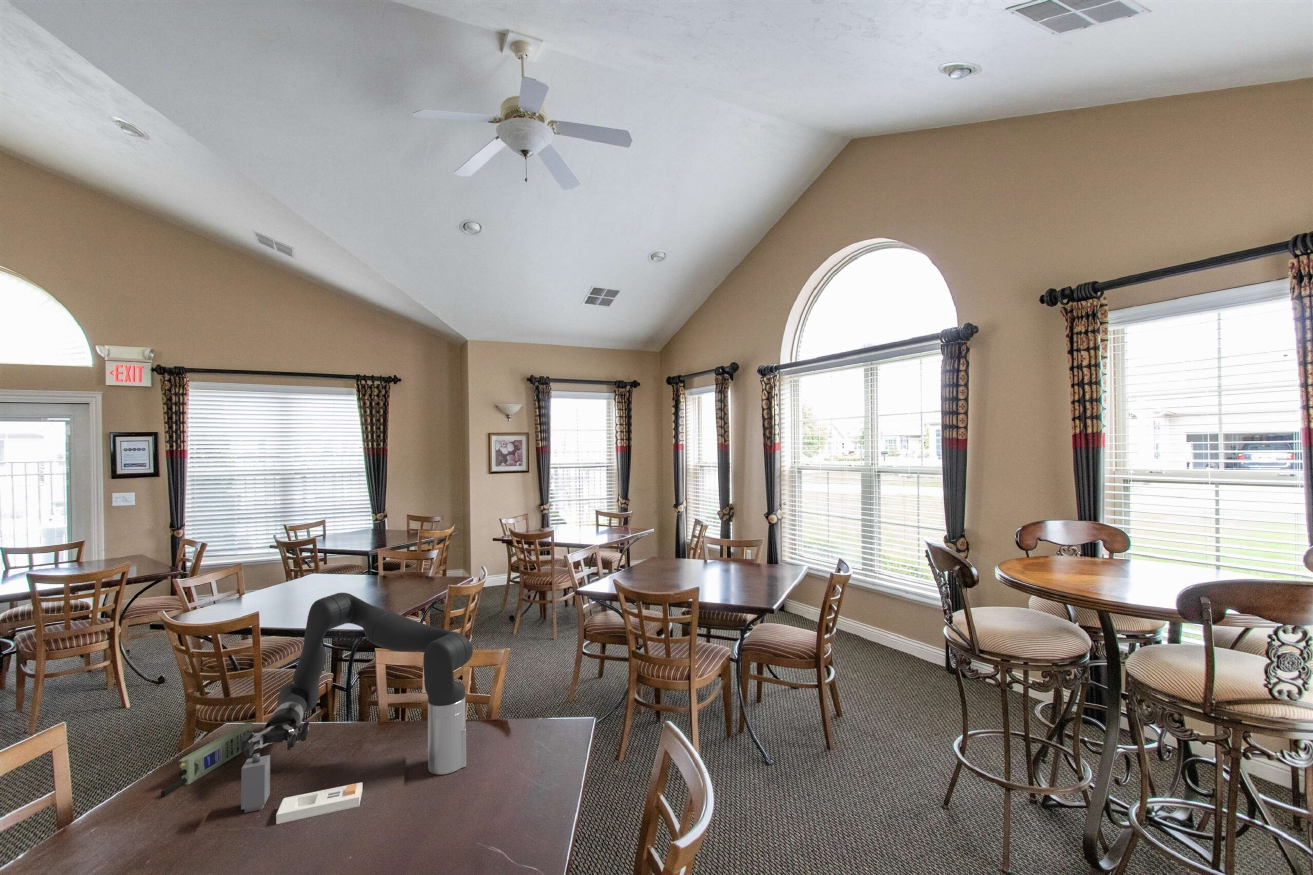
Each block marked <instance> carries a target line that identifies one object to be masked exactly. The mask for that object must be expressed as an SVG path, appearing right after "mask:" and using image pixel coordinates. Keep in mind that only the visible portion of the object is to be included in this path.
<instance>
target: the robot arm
mask: <svg viewBox="0 0 1313 875" xmlns="http://www.w3.org/2000/svg"><path fill="white" fill-rule="evenodd" d="M345 624H346V625H347V624H352V625H355V626H358V627H361V628H362V629H363V633H364V636H365V637H366V639H367V640H368V642H370V643H371V644H373V645H375V646H376V647H380V648H382V649H385V650H388V651H392V652H401V653H402V652H403V653H405V652H406V653H423V658H422V659H423V661H422V663H423V678H424V679H423V681H424V689H425V692H426V695H427V757H428V758H427V770H428V772H429V773H431V774H434V775H447V774H451V773H455V772H456V771H459V770H461V769H462V768H466V767H467V728H466V685H465V684H464V683H463V682H461V681H458V680H457V681H455V676H454V672H455V671H456V670H459V669H460V668H462V667H463V666H465V665H466V664H467V663H468V662H469V661H470V660H471V658H472V656H473V653H474V651H473V650H474V648H473V646H472V645H473V644H472V642H471V641H470V639H468V637H467V636H465V635H464V634H462V633H461V632H457V631H453V630H452V631H451V630H447V629H443V628H440V627H439V628H438V627H434V626H430V625H428V624H425V623H422V622H421V621H417V620H414V619H411V618H409V617H406V616H403V615H401V614H398V613H396V612H392V611H389V610H386V609H383V608H381V607H379V606H376V605H373V604H370V603H368V602H366V601H364V600H362V599H360V598H359V597H357V596H355V595H353V594H351V593H348V592H337V593H334V594H331V595H328V596H324V597H322V598H319V599H317V600H315V601H314V602H313V603H312V605H311V606H310V608H309V611H308V615H307V619H306V626H305V632H304V637H303V643H302V644H303V645H302V651H301V652H300V653H301V654H300V656H299V659H298V662H297V665H296V667H295V671H294V672H293V675H292V681H293V682H292V683H288V684H286V685H284V686H283V687H282V688H281V690H280V691H279V693H278V697H277V702H276V704H277V706H276V707H277V708H276V709H275V710H273V712H272V715H270V717H269V719H268V721H267V722H266V724H265V726H264V728H263V729H262V730H260V731H259V732H256V733H254V730H253V731H249V732H248V733H247V734H246V735H245V736H244V738H243V739H242V740H241V752H242V753H243V752H244V754H243V756H245V757H246V758H250V757H252V755H253V754H254V752H255V750H256V749H262V748H265V747H266V746H268V745H270V744H273V743H275V744H277V743H278V744H280V743H287V744H286V745H287V747H286V748H287V749H286V750H287V751H291V750H292V748H294V747H295V746H296V745H297V744H298V742H299V741H301V742H305V741H307V739H308V735H309V733H310V721H305V722H304V723H303V724H301V723H302V720H303V716H304V715H305V713H308V712H310V711H312V710H313V709H314V708H315V706H316V705H317V704H318V700H319V698H320V697H319V696H320V679H321V676H322V673H323V671H324V668H325V665H326V662H327V651H326V649H325V647H324V644H323V641H324V638H325V636H326V634H327V632H328V631H329V630H332V629H335V628H337V627H340V626H342V625H345ZM300 724H301V725H300Z"/></svg>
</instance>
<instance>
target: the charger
mask: <svg viewBox="0 0 1313 875" xmlns="http://www.w3.org/2000/svg"><path fill="white" fill-rule="evenodd" d="M240 771H241V774H240V775H241V780H240V781H241V784H240V785H241V786H240V787H241V788H240V789H241V790H240V792H241V795H240V798H241V799H240V810H244V814H246V813H249V812H250V813H251V812H255V811H260V810H263V809H264V807H265V805H266V802H267V801H268V799H269V797H270V793H271V785H270V784H271V755H270V754H268V755H263V756H261V753H260V752H256V753H252V755H251V758H250V757H249V758H247V759H246V760H245V763H244V764H243V765H242V767H241V770H240Z"/></svg>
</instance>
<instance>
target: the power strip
mask: <svg viewBox="0 0 1313 875" xmlns="http://www.w3.org/2000/svg"><path fill="white" fill-rule="evenodd" d="M362 794H363V782H356V783H352V784H347V785H343V786H336V787H333V788H327V789H322V790H317V791H313V792H308V793H304V794H303V793H302V794H298V795H292V796H288V797H284V798H283V799H282V801H281V803H280V805H279V808H278V810H277V811H276V815H275V819H276V821H275V822H276V823H275V824H276V825H278V824H283V823H288V822H289V823H290V822H292V821H299V820H302V819H303V820H304V819H307V818H311V817H316V816H321V815H326V814H330V813H335V812H339V811H344V810H348V809H353V808H359V807H360V805H361V804H360V803H361V798H362V796H363V795H362Z"/></svg>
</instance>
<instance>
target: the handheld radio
mask: <svg viewBox="0 0 1313 875" xmlns="http://www.w3.org/2000/svg"><path fill="white" fill-rule="evenodd" d="M253 723H254V722H252V721H251V722H250V721H249V722H244V723H243V724H241V725H240V726H238V727H236V728H234V729H232V730H230V731H228V732H227V733H225V734H223V735H221V736H220V737H218V738H216V739H215V740H212V741H211V742H208V743H207V744H205V745H204V746H201V747H200V748H198V749H196V750H194V751H193V752H190V753H189V754H188V755H185V756H183V757H182V758H181V759H179V760H178V762H181V763H180V764H179V768H181V770H180V771H179V772H178V776H179V777H181V779H180V780H179V781H176V782H175V783H173V784H171V785H169V786H168V787H166V788H164V789H162V790H161V791H160V793H159V794H160V796H161V797H165V796H166V795H168V794H169V793H171V792H173V791H174V790H176V789H178V788H179V787H180V786H182V785H186V786H187V785H190V784H192V783H194V782H195V781H197V780H199V779H201V778H202V777H204V776H206V775H207V774H209V773H210V772H212V771H214V770H215V769H217V768H219V767H220V766H222V765H223V764H225V763H227V762H229V761H230V760H232V759H233V758H236V757H237V756H239V755H240V754H241V753H243V752H241V740H242V739H243V738H244V736H245V735H246V734H247V733H248V732H249V731H254V729H253V726H254V724H253Z"/></svg>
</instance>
